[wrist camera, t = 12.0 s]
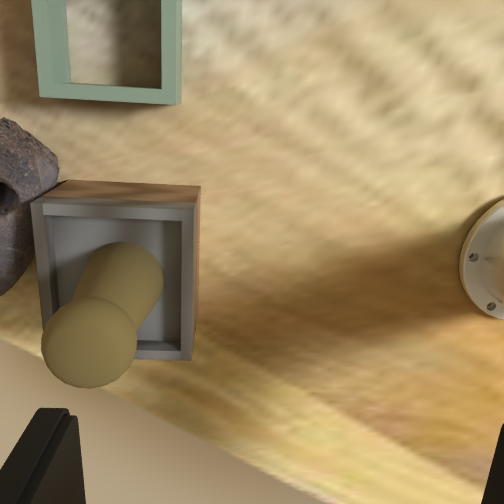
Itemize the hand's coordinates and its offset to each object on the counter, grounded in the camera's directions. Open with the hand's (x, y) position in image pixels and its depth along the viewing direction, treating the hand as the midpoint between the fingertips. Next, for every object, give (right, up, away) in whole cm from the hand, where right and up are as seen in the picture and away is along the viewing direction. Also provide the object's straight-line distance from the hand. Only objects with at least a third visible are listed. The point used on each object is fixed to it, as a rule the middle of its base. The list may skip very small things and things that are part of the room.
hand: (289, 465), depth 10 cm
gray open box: (-11, +5, +32) cm, 34 cm away
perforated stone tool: (-20, +9, +30) cm, 37 cm away
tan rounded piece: (-10, +3, +26) cm, 28 cm away
